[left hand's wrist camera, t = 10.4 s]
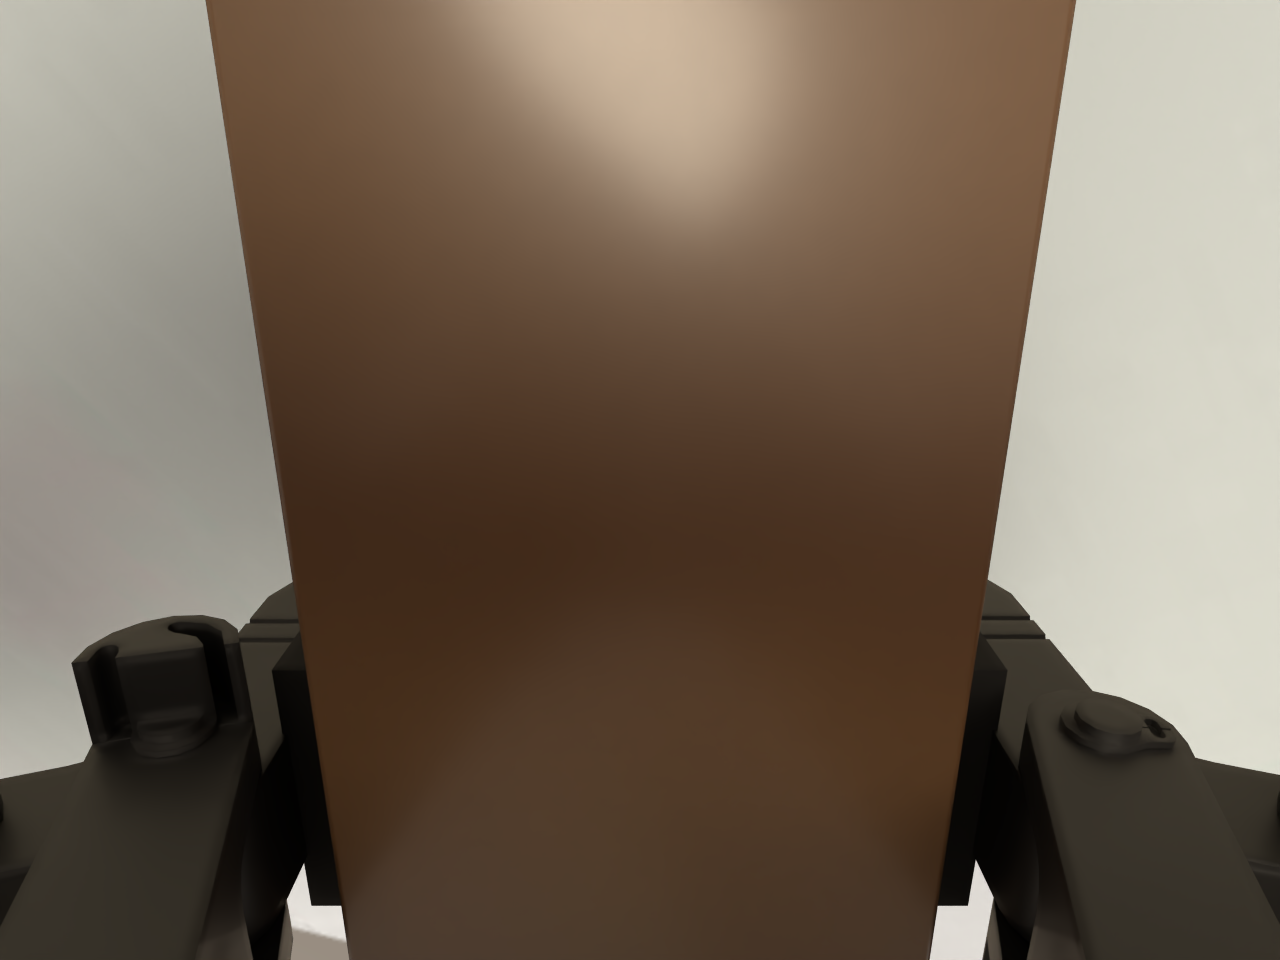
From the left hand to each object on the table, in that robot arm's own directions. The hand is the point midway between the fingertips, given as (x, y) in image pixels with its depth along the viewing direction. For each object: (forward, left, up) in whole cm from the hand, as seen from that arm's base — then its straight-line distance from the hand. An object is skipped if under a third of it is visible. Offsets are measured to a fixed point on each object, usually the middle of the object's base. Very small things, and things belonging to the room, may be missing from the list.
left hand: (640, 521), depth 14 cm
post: (-10, +30, -1) cm, 32 cm away
